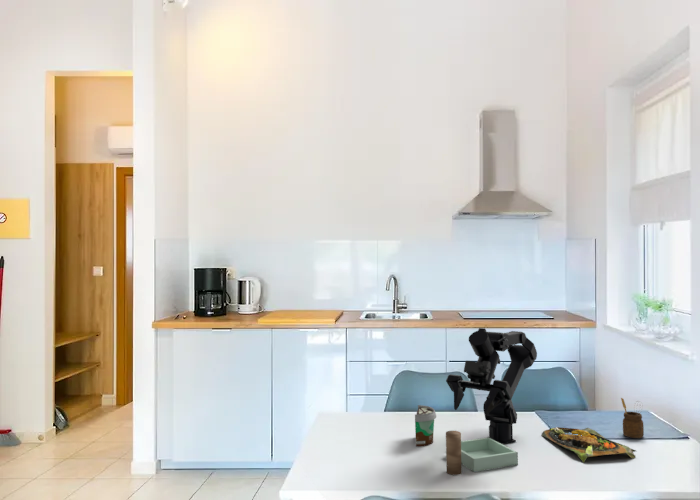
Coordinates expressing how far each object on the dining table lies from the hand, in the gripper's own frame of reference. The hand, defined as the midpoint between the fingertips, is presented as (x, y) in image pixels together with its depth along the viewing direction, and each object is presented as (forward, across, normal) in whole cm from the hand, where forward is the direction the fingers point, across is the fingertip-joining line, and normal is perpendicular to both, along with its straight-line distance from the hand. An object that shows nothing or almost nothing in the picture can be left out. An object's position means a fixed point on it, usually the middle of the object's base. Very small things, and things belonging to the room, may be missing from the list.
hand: (469, 411), depth 157 cm
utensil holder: (-26, +32, +45) cm, 61 cm away
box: (+8, +2, +12) cm, 14 cm away
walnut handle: (+17, 0, +3) cm, 17 cm away
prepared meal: (-13, +22, +33) cm, 42 cm away
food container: (+5, -18, +15) cm, 24 cm away
